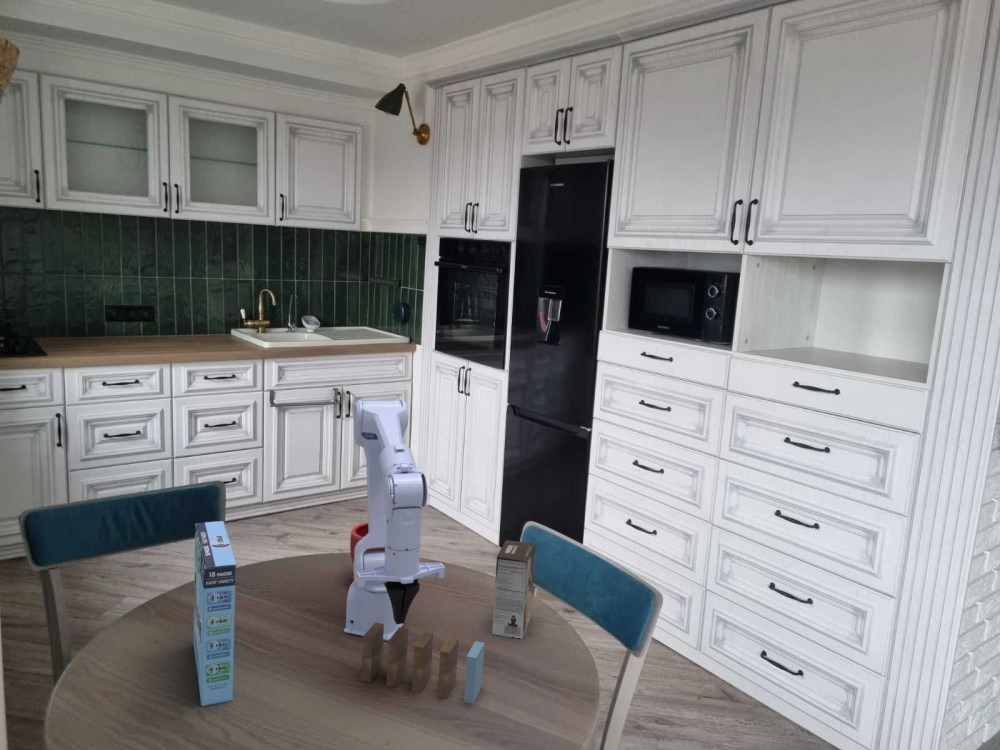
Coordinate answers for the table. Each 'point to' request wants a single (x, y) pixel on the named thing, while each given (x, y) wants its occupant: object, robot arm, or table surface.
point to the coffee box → (513, 589)
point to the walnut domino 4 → (448, 667)
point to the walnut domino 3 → (422, 661)
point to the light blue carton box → (214, 612)
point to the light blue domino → (474, 672)
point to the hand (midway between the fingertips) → (399, 621)
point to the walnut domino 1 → (372, 652)
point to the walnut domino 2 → (397, 656)
